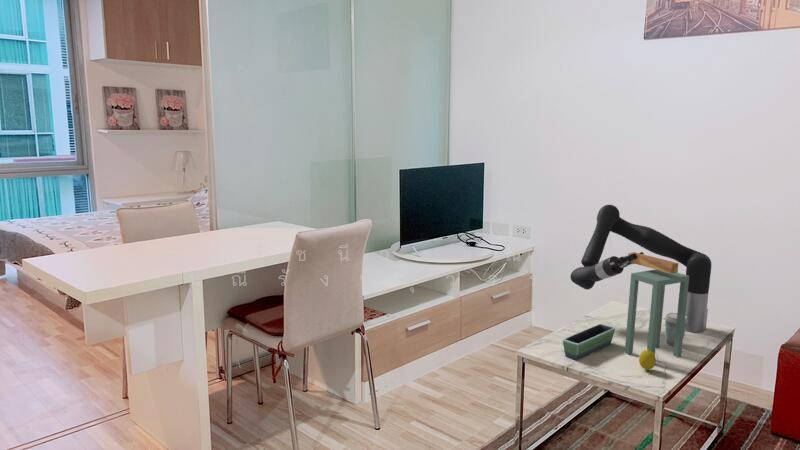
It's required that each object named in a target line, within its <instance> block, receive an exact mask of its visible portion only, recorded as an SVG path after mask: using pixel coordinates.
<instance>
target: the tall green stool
mask: <svg viewBox="0 0 800 450" xmlns="http://www.w3.org/2000/svg"><path fill="white" fill-rule="evenodd" d="M640 282H641V283H645V284H649V285H650V286H651V285H652V289H651V300H650V311H649V324H648V336H647V343H646V344H647V346H646V350H647V349H649V350H650V351H652V352H653V353H654V354H655V355H656V349H658V348H660V346H661V345H660V344H661V343H660V342H661V334H662V333H661V332H662V322H663V314H664V313H663V312H664V302H665V292H666V291H665V290H666V286H667V285H668V286H669V285H673V284H674V285H675V284H679V292H678V293H679V294H678V304H677V312H676V313H677V322H676V332H675V342H674V346H673V352H672V355H673V357H675V358H681V357H682V354H683V353H682V352H683V344H684V342H683V341H684V338H683V334H684V335H685V333H684V324H685V314H686V304H687V294H688V284H689V276H688V275H686V274H683V273H680V272H678V273H672V274H671V273H667V272H664V271H660V270H656V269H650V270H644V271H637V272H632V273H631V274H630V285H629V295H628V296H629V299H628V306H627V308H628V309H627V321H626V330H625V331H626V332H625V333H626V334H625V343H624V344H625V345H624V354H626V355H633V352H634V351H633V350H634V341H635V330H636V317H637V306H638V305H637V303H638V293H639V283H640Z"/></svg>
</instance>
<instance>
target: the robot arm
mask: <svg viewBox="0 0 800 450" xmlns="http://www.w3.org/2000/svg"><path fill="white" fill-rule="evenodd" d="M596 216H597V217H596V226H595V228H594V231H593V234H592V236H591V238H590V241H589V242H588V245H587V246H586V248H585V251H584V253H583V256H582V258H581V265H582V266H580V267H577V268H575V269H573V271H571V274H570V276H569V277H570V280H571V282H572V283H573V284H575V285H577V286H578V287H581V288H582V289H583V290H591V289H592V288H594V285H595V284H596V283H597V282H600V281H602V280H605V279H609V278H612V277H614V276H617V275H620V274H621V273H623V272H624V268H627V267H629V266H631V265H635V264H634V263H631V262H630V261H632V260H634V259H637V255H636V253H637V252H636V253H633V252H632V253H633V254H631V255H629V256H628V255H625V256H624V255H623V256H620V257H618V256H616V255H613V256H612V255H611V256H610V257H608V258H604V260H601V258H602V255H603V252H604V249H605V246H606V243H607V240H608V237H609V235H610V233H611V232H612V233H613V234H617V235H618V236H620V237H623V238H624V239H627V240H628V241H630V242H632V243H634V244H636V245H637V246H640V247H641V248H643V249H645V250H647V251H648V252H650V253H653V254H655V255H658V256H660V257H665V258H668V259H671V260H674V261H676V262H677V263H680V264H681V265H683V266H684V267H686V269H685V275H688V276H689V284H688V294H687V304H686V314H685V316H686V317H687V320H688V323H687V325H686V329H685V332H689V333H695V334H696V333H699V334H700V333H704V332H705V331H706V330H707V321H708V313H709V309H708V301H709V292H710V291H709V290H710V283H711V276H712V275H711V273H712V260H711V259H710V257H709V256H708V255H707V254H705V253H703V252H700V251H698V250H694V249H693V248H689V247H687V246H685V245H683V244H681V243H679V242H678V241H676V240H674V239H673V238H670V237H669V236H667V235H666V234H664V233H662V232H660V231H658V230H656V229H654V228H652V227H650V226H649V227H648V226H644V225H639V224H634V223H632V222H629V221H627V220H626V219H624V218H621V217H620V211H619V208H618V207H616V206H615V205H613V204H606V205H603V206H602V207H601V208H599V210H598V213H597V215H596ZM639 253H640V254H644V252H643V251H642V252H639ZM644 255H645V254H644ZM600 260H601V261H600Z"/></svg>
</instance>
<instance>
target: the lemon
mask: <svg viewBox="0 0 800 450" xmlns="http://www.w3.org/2000/svg"><path fill="white" fill-rule="evenodd" d="M638 362H639V365H640V366H641V368H642V369H644V371H648V370H652V369H653V368H654V367H655V365H656V362H657V360H656V353H655V354H654V353H653V352H652V351H650V350H649V349H647V348H646V349H644V350H642V351H641V352H640V354H639V357H638Z"/></svg>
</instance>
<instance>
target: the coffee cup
mask: <svg viewBox="0 0 800 450" xmlns="http://www.w3.org/2000/svg"><path fill="white" fill-rule="evenodd" d="M664 320H665V325H664V326H665V343H666V344H667V345H668V346H670V347H674V342H675V332H676V322H677V312H669V313H666V314H665V317H664ZM687 323H688V320H687V317H686V316H685V324H684V334H683V339H684V337H685V333H686V331H685V329H686V325H687Z"/></svg>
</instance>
